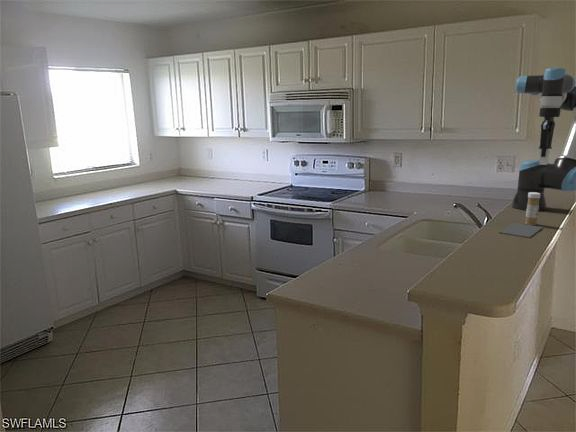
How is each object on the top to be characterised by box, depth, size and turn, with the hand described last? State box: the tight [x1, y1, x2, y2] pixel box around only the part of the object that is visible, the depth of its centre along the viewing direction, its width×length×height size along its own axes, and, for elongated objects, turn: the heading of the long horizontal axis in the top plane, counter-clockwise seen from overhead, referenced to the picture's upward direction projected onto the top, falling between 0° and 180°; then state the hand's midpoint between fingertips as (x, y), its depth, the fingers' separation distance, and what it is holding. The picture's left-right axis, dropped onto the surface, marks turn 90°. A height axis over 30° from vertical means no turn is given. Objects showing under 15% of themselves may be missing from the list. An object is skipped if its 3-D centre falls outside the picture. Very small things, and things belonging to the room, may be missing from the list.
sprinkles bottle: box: [524, 192, 540, 226], centre depth 200 cm, size 5×5×13 cm
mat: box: [498, 222, 544, 239], centre depth 191 cm, size 20×11×1 cm, turn 140°
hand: (543, 164), depth 203 cm, fingers closed
